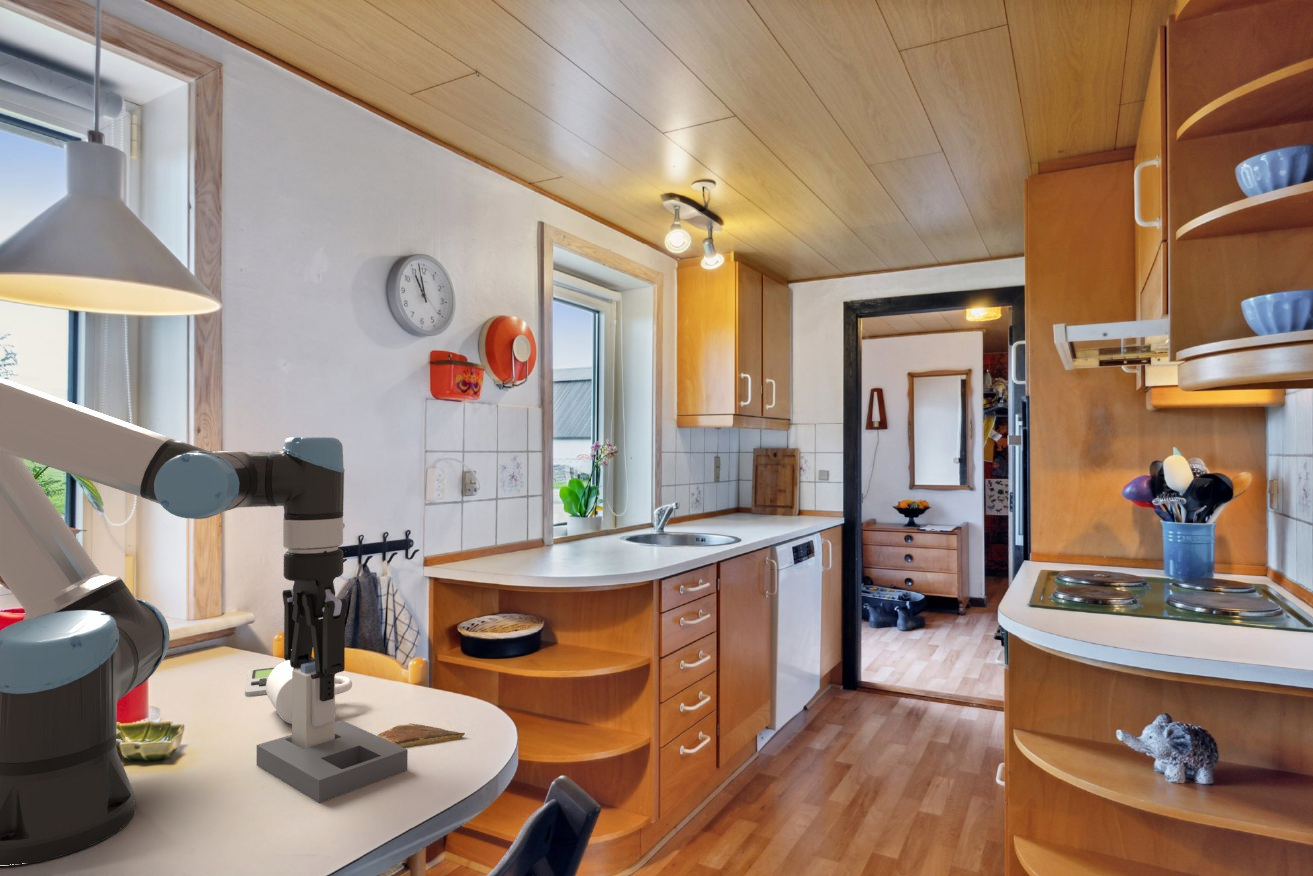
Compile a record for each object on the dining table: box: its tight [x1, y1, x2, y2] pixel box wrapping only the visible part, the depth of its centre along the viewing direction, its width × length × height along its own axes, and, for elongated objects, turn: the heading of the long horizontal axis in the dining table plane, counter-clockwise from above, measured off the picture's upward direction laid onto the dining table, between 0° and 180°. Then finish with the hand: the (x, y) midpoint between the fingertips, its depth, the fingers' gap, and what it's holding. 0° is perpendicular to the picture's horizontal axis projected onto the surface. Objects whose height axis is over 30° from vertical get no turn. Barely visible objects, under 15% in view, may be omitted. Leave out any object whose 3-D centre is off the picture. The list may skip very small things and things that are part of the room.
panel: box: [256, 719, 408, 804], centre depth 102 cm, size 12×17×3 cm
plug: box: [291, 661, 336, 749], centre depth 105 cm, size 4×4×13 cm
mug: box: [266, 660, 353, 725], centre depth 124 cm, size 12×10×8 cm
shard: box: [376, 722, 466, 748], centre depth 111 cm, size 11×8×2 cm
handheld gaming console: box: [244, 665, 277, 698], centre depth 140 cm, size 10×2×15 cm
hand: (313, 718), depth 105 cm, fingers open, 5 cm apart
